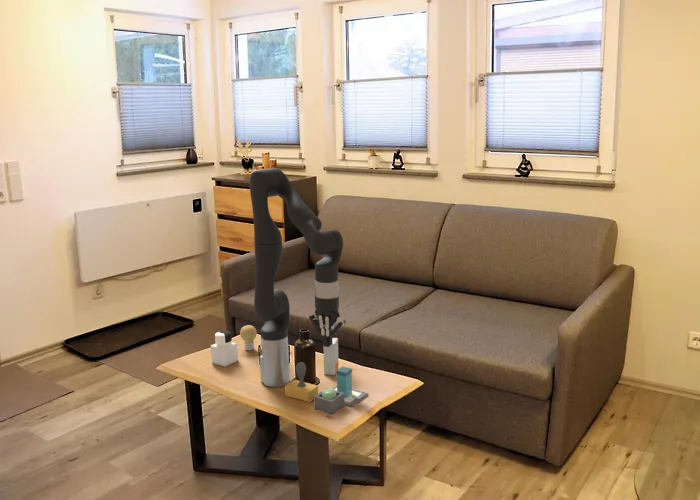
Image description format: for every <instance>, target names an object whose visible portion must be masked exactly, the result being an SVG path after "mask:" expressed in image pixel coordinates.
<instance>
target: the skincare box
mask: <svg viewBox="0 0 700 500" xmlns="http://www.w3.org/2000/svg"><path fill="white" fill-rule="evenodd" d="M322 344H323V343H322ZM322 346H323V348H322V349H323V375H330V376H331V375H332V376H335V375H337V374H336V370H338V369H339V338H338V337H332V345H331V346H329V347H325V346H324V344H323V345H322Z"/></svg>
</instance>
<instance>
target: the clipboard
mask: <svg viewBox="0 0 700 500" xmlns="http://www.w3.org/2000/svg"><path fill="white" fill-rule="evenodd" d="M332 389H334V390H336V391H337V385H335V387H333V388H332ZM367 396H368V392H364V391H361V390H358V389H354V388H352V394H351V395H350V396H348V397H347V398H345V397H344V403H345V406H347V407H354V406H355V405H357V404H358V403H359V402H360V401H362V400H363V399H364V398H365V397H367Z"/></svg>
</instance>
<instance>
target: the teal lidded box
mask: <svg viewBox="0 0 700 500" xmlns="http://www.w3.org/2000/svg"><path fill="white" fill-rule="evenodd" d="M335 375H336V386H337V391H339V392H342V393H344V397H345V398H347V397H348V396H350V395H351V394H352V389H353V376H352V375H353V368H350V367H347V366H340V367H338V370H336V374H335Z"/></svg>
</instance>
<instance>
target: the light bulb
mask: <svg viewBox="0 0 700 500" xmlns="http://www.w3.org/2000/svg"><path fill="white" fill-rule="evenodd" d="M239 332H240V333H239V334H240V338H241V339H242V340H243V341H244V342H243V344H244V345H243V346H244V350H245V351H250V352H251V351H252V350H254V348H255V345H254V343H255V342H254V340H255V339H256V337H257V328H255V326H253V325H251V324H247V325H244V326H243V327H241V328H240V331H239Z"/></svg>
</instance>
